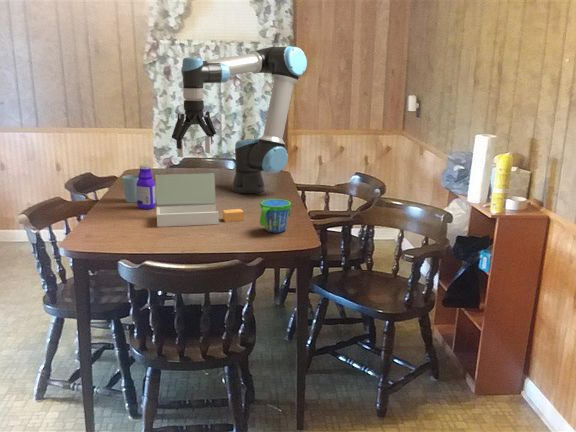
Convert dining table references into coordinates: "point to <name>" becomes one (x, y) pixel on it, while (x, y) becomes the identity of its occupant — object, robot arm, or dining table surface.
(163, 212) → the grey rectangular box
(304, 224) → the dining table surface
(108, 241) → the dining table surface
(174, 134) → the robot arm
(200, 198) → the cover
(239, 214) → the orange rectangular block
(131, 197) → the cup
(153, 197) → the bottle
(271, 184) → the dining table surface
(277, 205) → the snack cup
